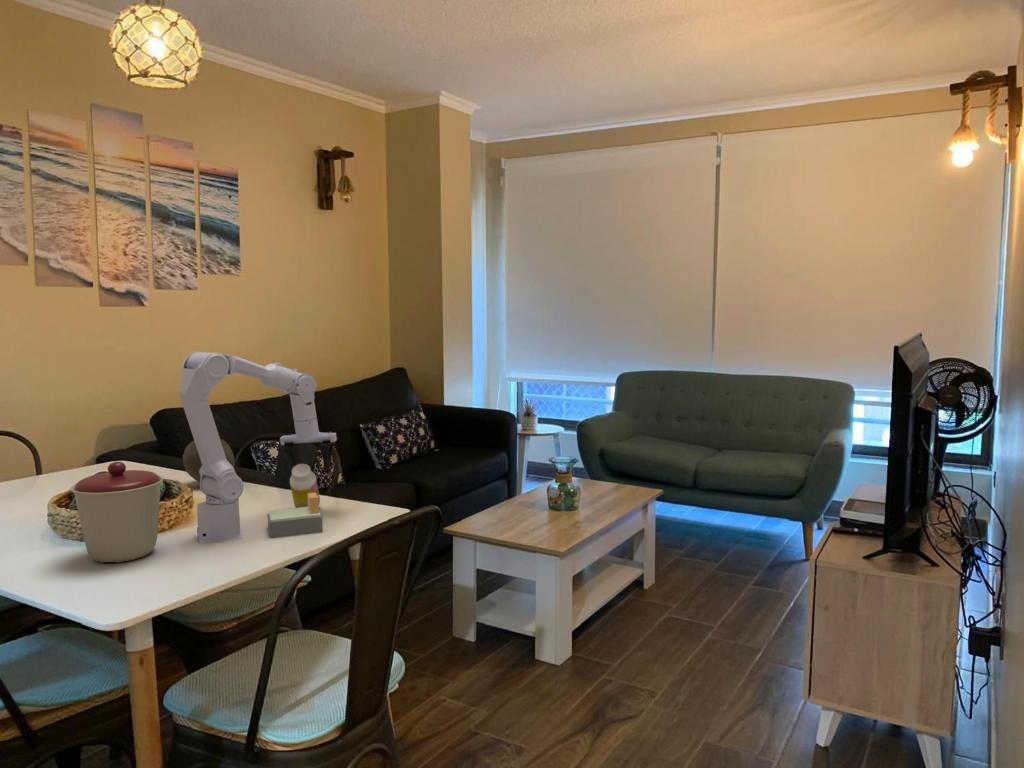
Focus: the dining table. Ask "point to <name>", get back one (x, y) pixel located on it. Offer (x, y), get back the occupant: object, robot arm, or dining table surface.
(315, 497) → the lid
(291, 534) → the tub
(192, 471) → the cantaloupe
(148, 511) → the canister
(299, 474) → the supplement bottle
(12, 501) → the dining table surface
